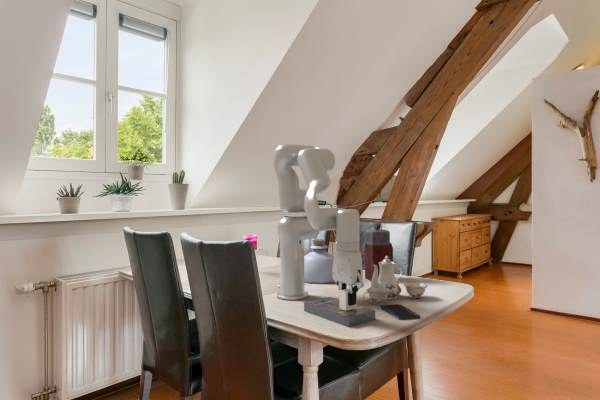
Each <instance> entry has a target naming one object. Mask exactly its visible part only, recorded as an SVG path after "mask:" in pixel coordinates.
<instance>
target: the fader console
mask: <svg viewBox="0 0 600 400" xmlns="http://www.w3.org/2000/svg"><path fill="white" fill-rule="evenodd" d="M303 312H306V313H307V314H311V315H314V316H316V317H320V318H322V319H325V320H329V321H330V322H334V323H336V324H339V325H342V326H344V327H347V328H349V327H353V326H357V325H361V324H364V323H368V322H371V321H376V310H375V309H372V308H369V307H365V306H363V305H359V304H357V308H355V309H351V310H347V311H345V310H342V309H339V298H336V297H332V296H329V297H324V298H319V299H314V300H313V299H312V300H309V301H304V302H303Z"/></svg>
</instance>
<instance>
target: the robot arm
mask: <svg viewBox="0 0 600 400" xmlns="http://www.w3.org/2000/svg"><path fill="white" fill-rule="evenodd" d="M272 160H273V162H272V163H273V168H274V172H275V174H276V178H277V187H278V189H277V190H278V191H277V192H278V203H279V207H280V208H279V209H280V211H281V212H283V213H285V214H302V215H301V216H300V215H297V216H295V215H293V216H286V217H283V218H282V219H280V220H279V221H278V223H277V227H276V229H277V237H278V241H279V259H280V260H279V261H280V262H279V266H280V268H279V270H280V271H279V272H280V273H279V276H280V280H279V281H280V282H279V284H277V285H276V287H277V288H278V289H279V291H277V293H276V298H278V299H281V300H285V301H286V300H287V301H288V300H289V301H290V300H291V301H296V300H304V299H306V298H308V297H309V292H308V291H306V290H305V282H304V256H305V251H304V248H303V246H302V245H301V243H300V241H304V240H305V241H306V240H307V241H308V240H314V239H317V237H319V235H320V232H323V231H324V232H325V231H335V232H336V233H335V236H336V238H335V247H336V249H335V250H334V253H333V256H334V258H333V269H332V277H333V280H334V281H335V282H334V283H336V285H337V286H338V291H339V290H343V289H348V288H349V292H350V293H348V305H349V306H351V305H355V304H356V292H357V293H358V292H359V290H360V289H362V288H364V286H365V283H364V281H363V278H364V277H363V276H364V270H363V262H362V261H363V259H362V253H361V249H360V248H361V246H360V212H359V211H358V210H357V209H354V208H353V209H350V208H349V209H347V208H342V207H323V208H322V207H320V205H319V200H318V197H317V195H319V194H320V193H323V192H324V191H325V190H327V189H329V187H330V186H331V182H332V181H331V178H330V175H329V173H328V172H329V171H332V170H333V169H334V167H335V164H336V157H335V154H334V153H333V151H331V149H328V148H324V147H320V146H316V145H309V144H308V145H307V144H297V143H285V144H281V145H278V146H277V147H276V148H275V150H274V152H273V159H272ZM293 167H299V168H300V170H301V173H302V175H303V178H304V181H305V183H306V186H307V189H301V188H300V180H299V176H298V174H297V172H296V171H295V170H294V168H293Z"/></svg>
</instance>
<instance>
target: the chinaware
mask: <svg viewBox="0 0 600 400" xmlns="http://www.w3.org/2000/svg"><path fill="white" fill-rule="evenodd" d="M373 266H374V273H373V277H372V281H370V287H368V288H367V289H366V291H365V292H364V293H363V295H362V298H363V299H364V300H365V301H370V303H373V304H374V305H379V306H382V305H384V303H383V302H385V301H387V300H388V299H392V300H396V298H397V299H398V297H399V295H400V294H401V293H402V289H401V287H400V282H401V278H402V276H403V273H404V270H403V267H402V265H401V264H399V263H396V262H394V261H393V262H391V260H390V259H388V256H386V257H385V259H383V260H382V262H379V266H380V273H379V277H378V267H377V265H375V264H373ZM397 266H398V267H399V269H400V273H399V276H398V277H397V278H396V276H395V269H396V268H397ZM403 286H404V287H405V290H406V292H407V294H408V295H409V296H410V297H411V299H412V298H419V299H420V298H421V297H423V295H424V293H425V292H426V288H428V285H427V284H425V283H424V282H418V283H416V282H411V281H410V282H408V283H403ZM365 294H367V295H369V299H366V298H365Z"/></svg>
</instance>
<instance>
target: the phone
mask: <svg viewBox="0 0 600 400" xmlns="http://www.w3.org/2000/svg"><path fill="white" fill-rule="evenodd" d="M380 310H382V311H384V312H386V313H388V314H389V315H390V316H392V317H393V318H395V319H397V320H398V321H408V320H409V321H410V320H419V319H421V315H420V314H418V313H416V312H414V311H413V310H411V309H409V308H407V307H406V306H404V305H402V304H398V303H397V304H386V305H384V304H382V305H380Z"/></svg>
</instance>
